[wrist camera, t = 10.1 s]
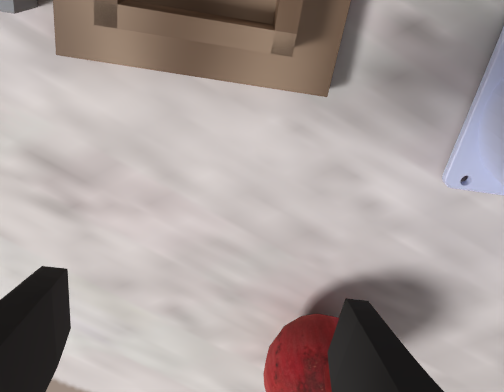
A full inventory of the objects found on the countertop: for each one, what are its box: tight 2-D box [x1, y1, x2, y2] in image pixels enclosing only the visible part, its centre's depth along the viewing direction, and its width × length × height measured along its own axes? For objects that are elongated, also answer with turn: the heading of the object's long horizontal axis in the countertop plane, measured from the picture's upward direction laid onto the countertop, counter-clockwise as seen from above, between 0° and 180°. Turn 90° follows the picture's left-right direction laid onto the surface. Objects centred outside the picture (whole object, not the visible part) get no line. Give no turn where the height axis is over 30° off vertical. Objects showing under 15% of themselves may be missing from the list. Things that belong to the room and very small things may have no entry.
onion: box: [264, 314, 339, 392], centre depth 22 cm, size 6×6×8 cm
